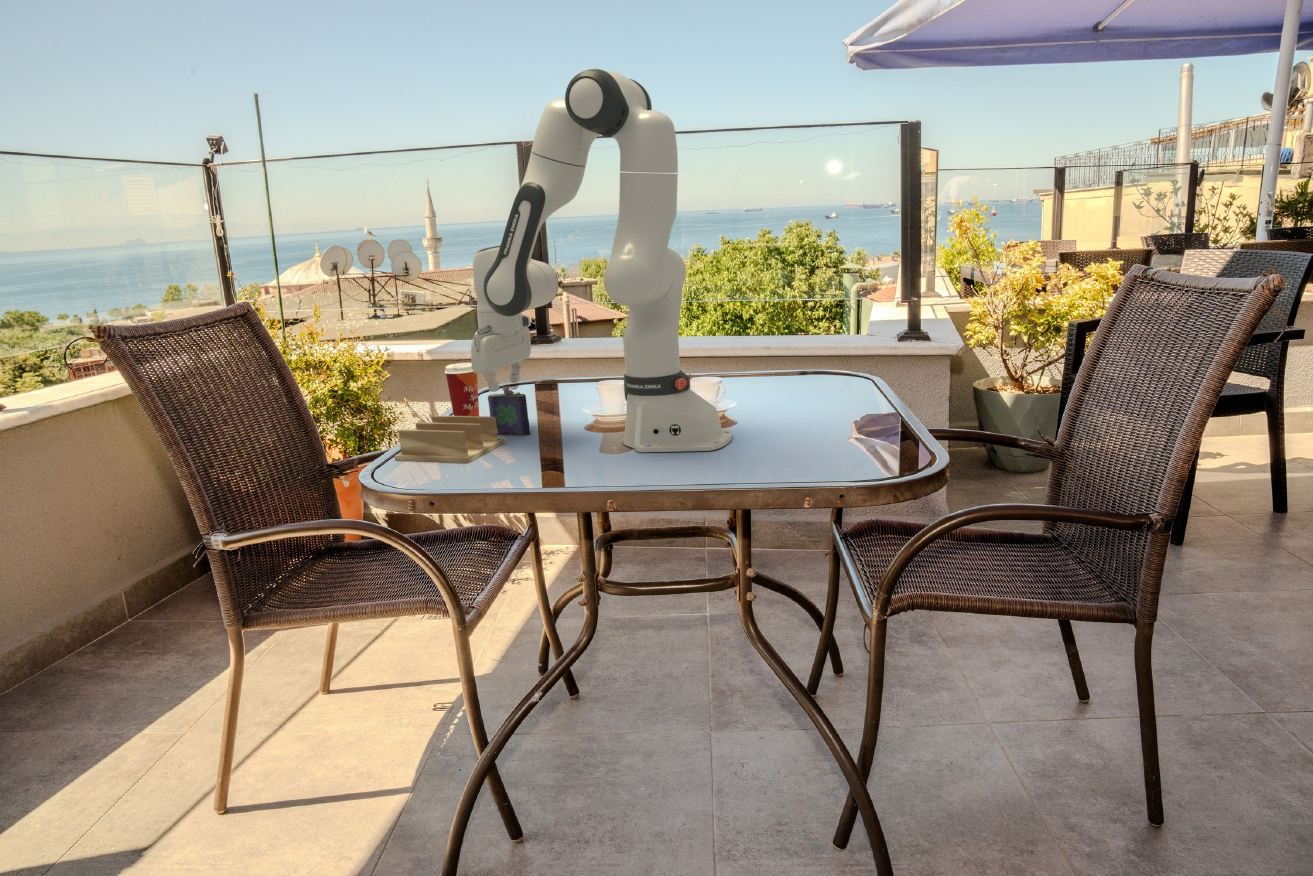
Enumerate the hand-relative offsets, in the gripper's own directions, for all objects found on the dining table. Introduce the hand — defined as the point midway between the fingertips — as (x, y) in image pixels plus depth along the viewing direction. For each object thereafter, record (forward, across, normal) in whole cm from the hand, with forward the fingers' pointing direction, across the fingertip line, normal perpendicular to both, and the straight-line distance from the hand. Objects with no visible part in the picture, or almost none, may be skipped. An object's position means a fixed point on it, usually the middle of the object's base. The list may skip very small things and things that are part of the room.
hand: (505, 386), depth 189 cm
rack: (+11, -15, +6) cm, 19 cm away
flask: (+11, 0, 0) cm, 11 cm away
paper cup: (+11, +8, +16) cm, 21 cm away
